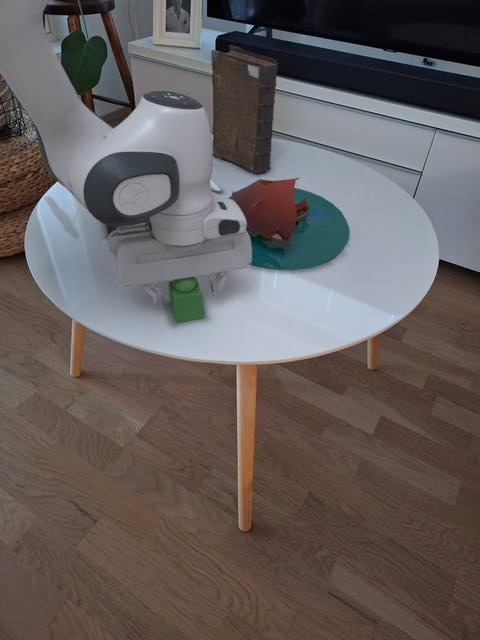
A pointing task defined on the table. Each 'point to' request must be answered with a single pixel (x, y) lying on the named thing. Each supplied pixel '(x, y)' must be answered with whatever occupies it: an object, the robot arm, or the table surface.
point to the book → (243, 107)
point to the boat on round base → (290, 225)
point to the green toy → (185, 299)
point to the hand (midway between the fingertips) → (187, 295)
